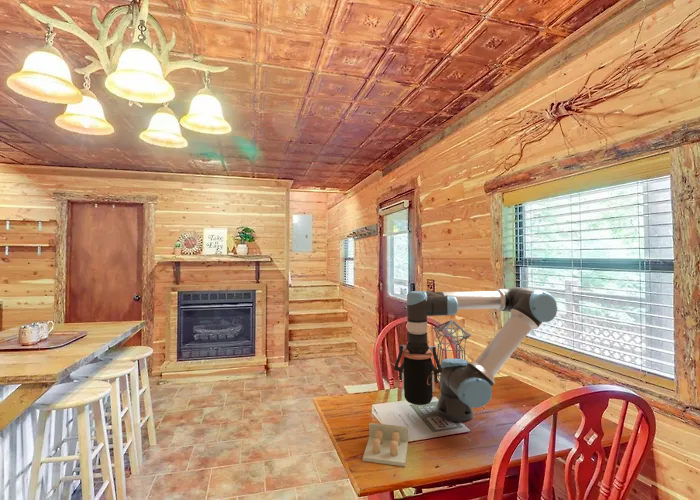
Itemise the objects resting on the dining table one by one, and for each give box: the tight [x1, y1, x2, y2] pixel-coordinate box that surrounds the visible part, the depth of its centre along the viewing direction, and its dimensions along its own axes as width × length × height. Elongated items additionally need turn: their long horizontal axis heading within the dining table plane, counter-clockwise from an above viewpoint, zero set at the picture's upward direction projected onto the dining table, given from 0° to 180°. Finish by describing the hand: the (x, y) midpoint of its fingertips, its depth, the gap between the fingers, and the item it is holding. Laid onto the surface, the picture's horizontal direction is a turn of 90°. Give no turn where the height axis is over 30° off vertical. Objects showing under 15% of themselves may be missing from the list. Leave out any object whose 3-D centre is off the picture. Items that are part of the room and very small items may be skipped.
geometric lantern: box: [431, 319, 472, 389], centre depth 177 cm, size 16×16×35 cm
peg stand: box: [362, 422, 409, 467], centre depth 123 cm, size 14×14×6 cm
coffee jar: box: [403, 349, 434, 406], centre depth 135 cm, size 11×11×18 cm
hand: (418, 389), depth 135 cm, fingers closed on coffee jar, 11 cm apart
